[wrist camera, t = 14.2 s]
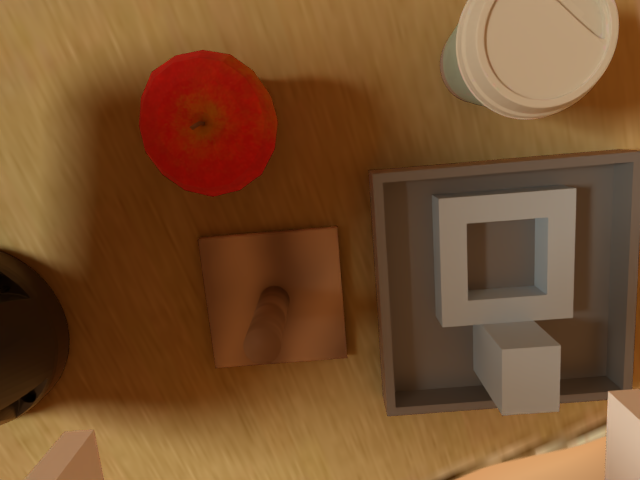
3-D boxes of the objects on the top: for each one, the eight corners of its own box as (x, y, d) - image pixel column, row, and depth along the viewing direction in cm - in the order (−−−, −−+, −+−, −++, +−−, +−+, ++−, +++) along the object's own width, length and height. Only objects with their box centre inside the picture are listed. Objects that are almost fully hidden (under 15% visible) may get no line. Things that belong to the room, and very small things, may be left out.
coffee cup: (547, 100, 39) (644, 88, 27) (438, 136, 40) (488, 140, 28) (521, -16, 37) (612, -82, 26) (407, 23, 38) (446, -23, 26)
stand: (217, 363, 44) (188, 430, 34) (200, 237, 41) (163, 270, 32) (346, 353, 43) (354, 417, 34) (336, 226, 41) (341, 256, 32)
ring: (437, 372, 43) (459, 418, 36) (431, 194, 40) (454, 208, 33) (557, 363, 43) (602, 408, 36) (561, 184, 40) (611, 196, 33)
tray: (383, 396, 44) (387, 416, 41) (368, 170, 40) (372, 173, 37) (610, 379, 44) (631, 397, 41) (619, 149, 40) (643, 151, 37)
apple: (297, 168, 40) (288, 184, 29) (193, 192, 41) (143, 217, 29) (270, 54, 38) (249, 23, 27) (161, 81, 39) (95, 61, 27)
